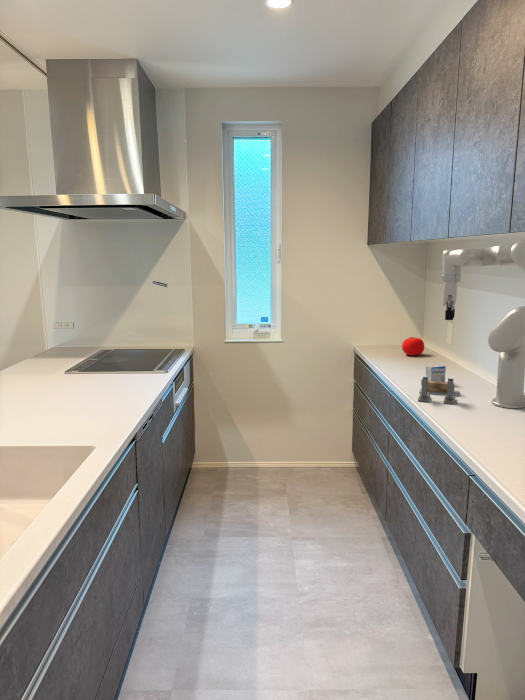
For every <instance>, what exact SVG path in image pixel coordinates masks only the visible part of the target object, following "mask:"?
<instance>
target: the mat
mask: <svg viewBox="0 0 525 700" xmlns="http://www.w3.org/2000/svg"><path fill="white" fill-rule="evenodd" d="M418 394H419V395H420V394H422V387H420V390H419V391H418ZM427 395H437V396H447V393H441V392H428V391H427ZM459 395H460V390H455V389H454V393H453V397H459Z"/></svg>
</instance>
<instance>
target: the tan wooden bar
mask: <svg viewBox="0 0 525 700" xmlns="http://www.w3.org/2000/svg"><path fill="white" fill-rule="evenodd" d="M454 390H455V382H453V393H454ZM427 391H428V392H441V393H447V381H445V382H434V381H428V384H427Z"/></svg>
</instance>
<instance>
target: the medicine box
mask: <svg viewBox="0 0 525 700" xmlns="http://www.w3.org/2000/svg"><path fill="white" fill-rule="evenodd" d="M446 367H447V366H446V365H443V364H435V365H427V366H425V377H428V381H434V382H446V371H447V370H446V369H447V368H446Z"/></svg>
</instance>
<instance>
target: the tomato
mask: <svg viewBox="0 0 525 700" xmlns="http://www.w3.org/2000/svg"><path fill="white" fill-rule="evenodd" d="M401 349H402V351H403V352H404V354H406V355H408V356H414V357H415V356H417V357H418V356H420V355H422V354H423V352H424V350H425V342H424V341H423V339H421V338H419V337H417V336H416V337H415V336H414V337H413V336H411V337H407V338H406V339H404V340H403V342H402V343H401Z"/></svg>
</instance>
